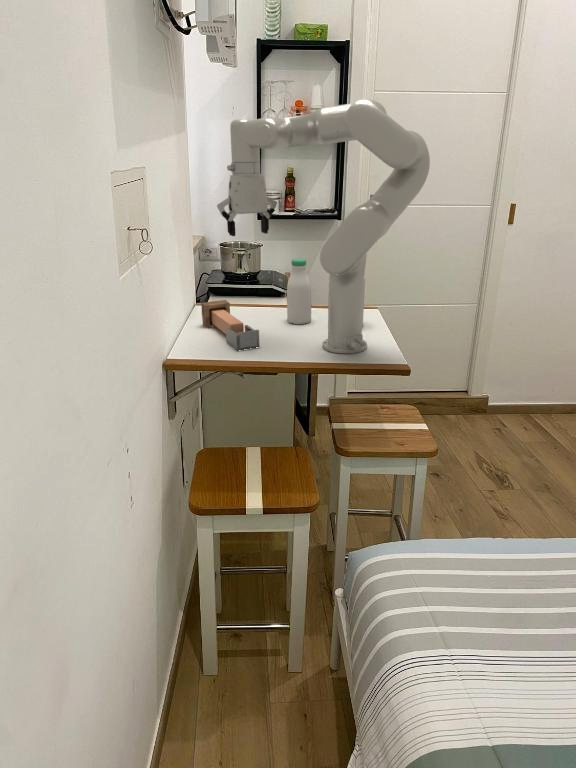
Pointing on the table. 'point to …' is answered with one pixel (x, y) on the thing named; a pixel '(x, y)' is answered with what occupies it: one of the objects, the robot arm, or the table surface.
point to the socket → (212, 305)
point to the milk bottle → (299, 294)
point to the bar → (225, 320)
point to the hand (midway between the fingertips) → (248, 234)
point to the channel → (243, 338)
